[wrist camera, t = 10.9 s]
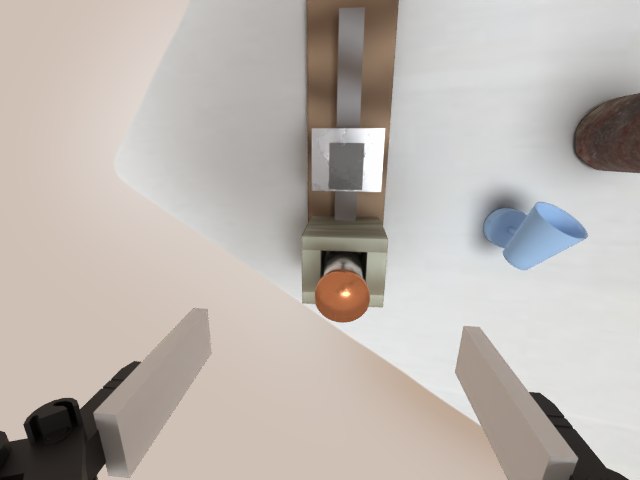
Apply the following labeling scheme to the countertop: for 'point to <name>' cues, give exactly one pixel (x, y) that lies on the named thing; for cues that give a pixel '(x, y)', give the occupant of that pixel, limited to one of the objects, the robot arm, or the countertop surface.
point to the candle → (611, 136)
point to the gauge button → (342, 288)
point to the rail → (370, 85)
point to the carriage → (347, 159)
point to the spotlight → (533, 233)
